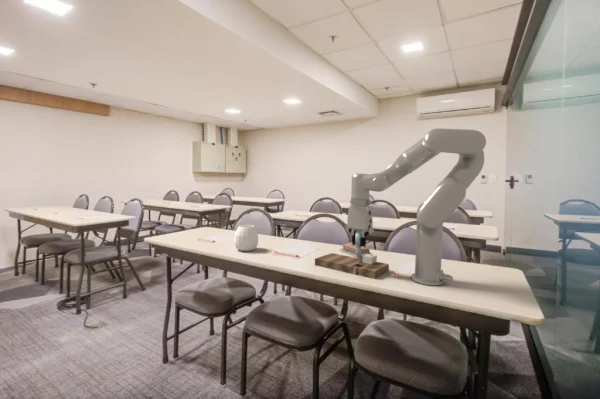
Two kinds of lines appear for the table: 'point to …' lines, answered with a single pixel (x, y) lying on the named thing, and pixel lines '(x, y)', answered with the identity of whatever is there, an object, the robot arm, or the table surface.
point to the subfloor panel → (352, 265)
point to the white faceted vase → (246, 238)
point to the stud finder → (368, 258)
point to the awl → (358, 243)
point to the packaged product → (353, 249)
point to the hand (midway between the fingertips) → (358, 245)
